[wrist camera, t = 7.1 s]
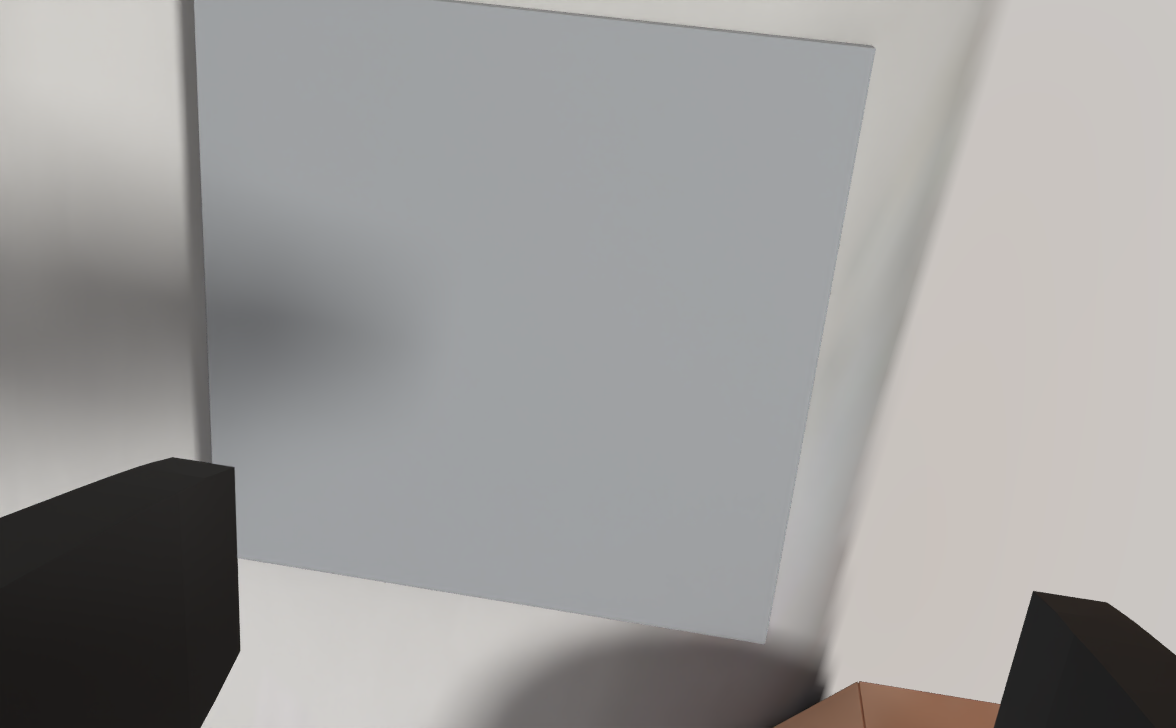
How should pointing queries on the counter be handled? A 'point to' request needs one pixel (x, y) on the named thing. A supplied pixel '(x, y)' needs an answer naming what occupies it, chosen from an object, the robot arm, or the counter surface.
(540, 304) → the mat
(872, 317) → the counter surface
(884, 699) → the bowl
